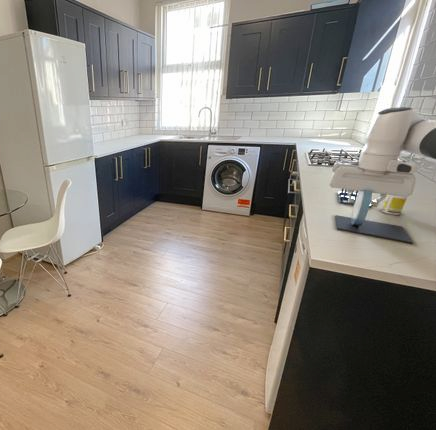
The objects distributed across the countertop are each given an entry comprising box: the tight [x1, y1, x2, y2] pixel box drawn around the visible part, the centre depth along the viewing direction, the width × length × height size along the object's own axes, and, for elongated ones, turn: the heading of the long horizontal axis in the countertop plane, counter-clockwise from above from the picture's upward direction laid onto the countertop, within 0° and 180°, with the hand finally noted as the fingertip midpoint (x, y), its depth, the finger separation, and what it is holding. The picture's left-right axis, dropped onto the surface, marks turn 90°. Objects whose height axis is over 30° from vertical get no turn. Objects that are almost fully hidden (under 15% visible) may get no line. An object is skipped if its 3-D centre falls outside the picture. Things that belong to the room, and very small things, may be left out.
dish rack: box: [337, 189, 372, 209], centre depth 119 cm, size 10×16×6 cm, turn 145°
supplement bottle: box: [381, 195, 408, 216], centre depth 105 cm, size 5×5×10 cm
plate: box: [350, 190, 373, 226], centre depth 93 cm, size 2×13×13 cm, turn 145°
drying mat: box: [335, 214, 413, 245], centre depth 93 cm, size 18×14×1 cm
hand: (361, 204), depth 92 cm, fingers open, 5 cm apart
